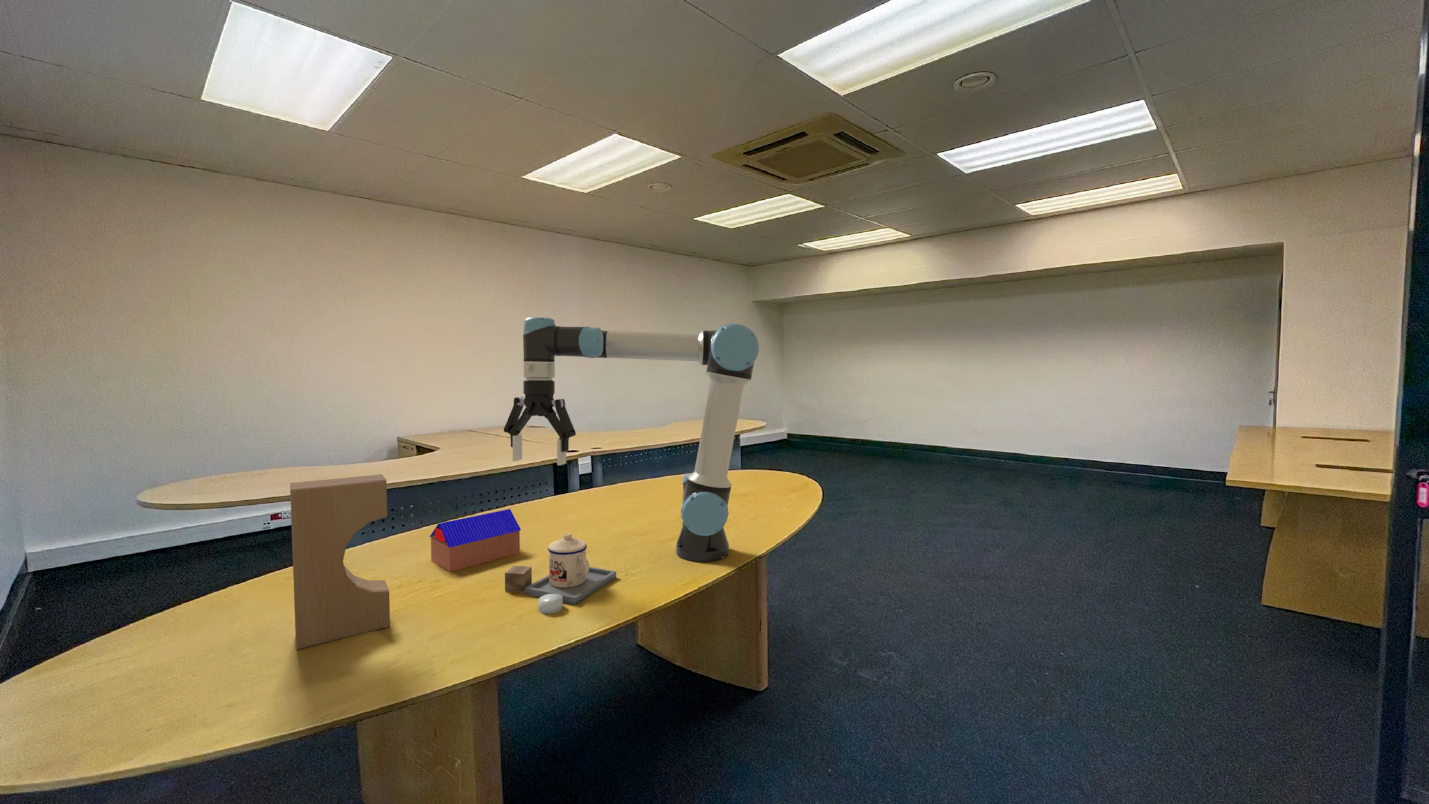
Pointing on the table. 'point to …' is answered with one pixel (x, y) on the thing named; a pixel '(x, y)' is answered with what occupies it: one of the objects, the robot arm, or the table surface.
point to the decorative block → (334, 559)
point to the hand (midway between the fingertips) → (539, 462)
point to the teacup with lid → (567, 562)
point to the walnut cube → (518, 578)
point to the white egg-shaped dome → (550, 603)
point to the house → (475, 540)
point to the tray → (573, 594)
